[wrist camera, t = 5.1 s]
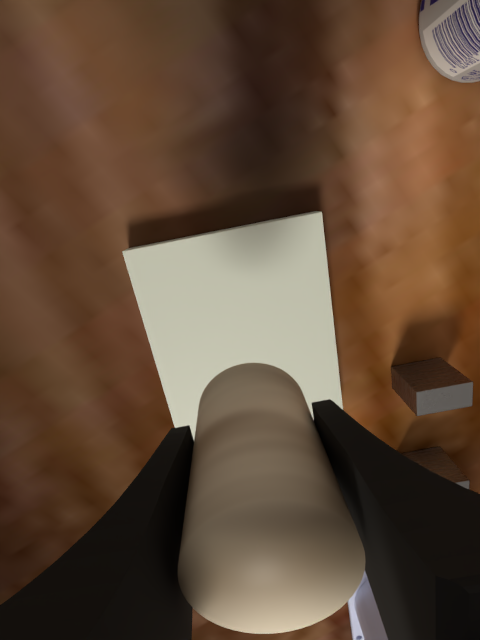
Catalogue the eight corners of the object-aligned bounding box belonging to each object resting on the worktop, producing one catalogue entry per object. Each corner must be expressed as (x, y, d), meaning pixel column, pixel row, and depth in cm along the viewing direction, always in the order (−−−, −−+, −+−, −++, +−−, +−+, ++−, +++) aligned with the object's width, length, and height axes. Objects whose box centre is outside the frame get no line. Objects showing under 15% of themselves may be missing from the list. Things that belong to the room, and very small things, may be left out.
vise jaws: (439, 464, 24) (468, 499, 21) (396, 471, 24) (419, 508, 21) (440, 357, 21) (473, 381, 18) (391, 366, 21) (416, 392, 19)
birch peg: (313, 441, 14) (376, 613, 8) (214, 464, 14) (206, 648, 8) (294, 351, 12) (352, 479, 7) (184, 377, 13) (152, 523, 7)
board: (337, 406, 22) (343, 417, 21) (183, 434, 22) (180, 447, 21) (315, 211, 18) (321, 211, 17) (128, 248, 18) (122, 251, 17)
